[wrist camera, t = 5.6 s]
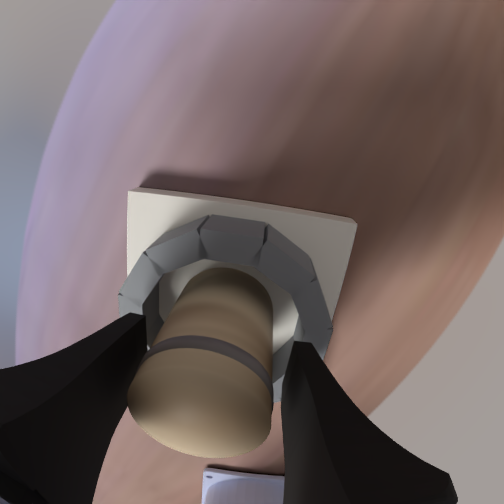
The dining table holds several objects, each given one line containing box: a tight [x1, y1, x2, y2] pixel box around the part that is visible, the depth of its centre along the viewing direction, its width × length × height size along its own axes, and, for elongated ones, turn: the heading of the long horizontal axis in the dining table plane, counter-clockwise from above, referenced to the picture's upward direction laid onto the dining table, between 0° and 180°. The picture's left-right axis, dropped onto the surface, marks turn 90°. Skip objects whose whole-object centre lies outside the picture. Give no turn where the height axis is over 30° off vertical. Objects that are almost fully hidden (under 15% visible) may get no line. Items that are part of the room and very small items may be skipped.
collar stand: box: [118, 187, 358, 403], centre depth 13 cm, size 9×9×3 cm
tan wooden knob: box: [127, 267, 274, 458], centre depth 10 cm, size 4×4×6 cm
